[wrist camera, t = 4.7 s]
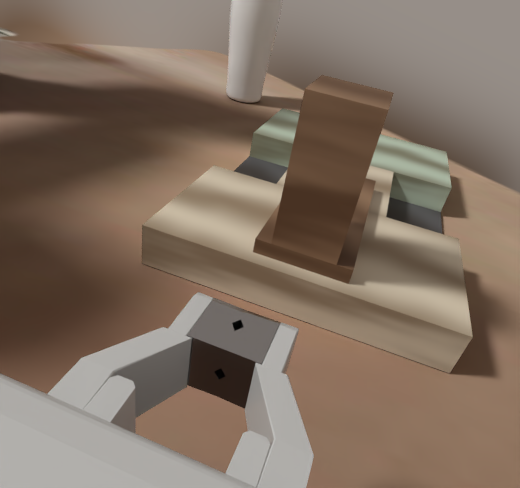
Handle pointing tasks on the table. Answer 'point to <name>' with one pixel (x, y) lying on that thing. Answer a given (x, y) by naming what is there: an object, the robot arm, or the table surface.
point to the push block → (327, 179)
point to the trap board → (315, 285)
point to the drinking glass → (250, 46)
